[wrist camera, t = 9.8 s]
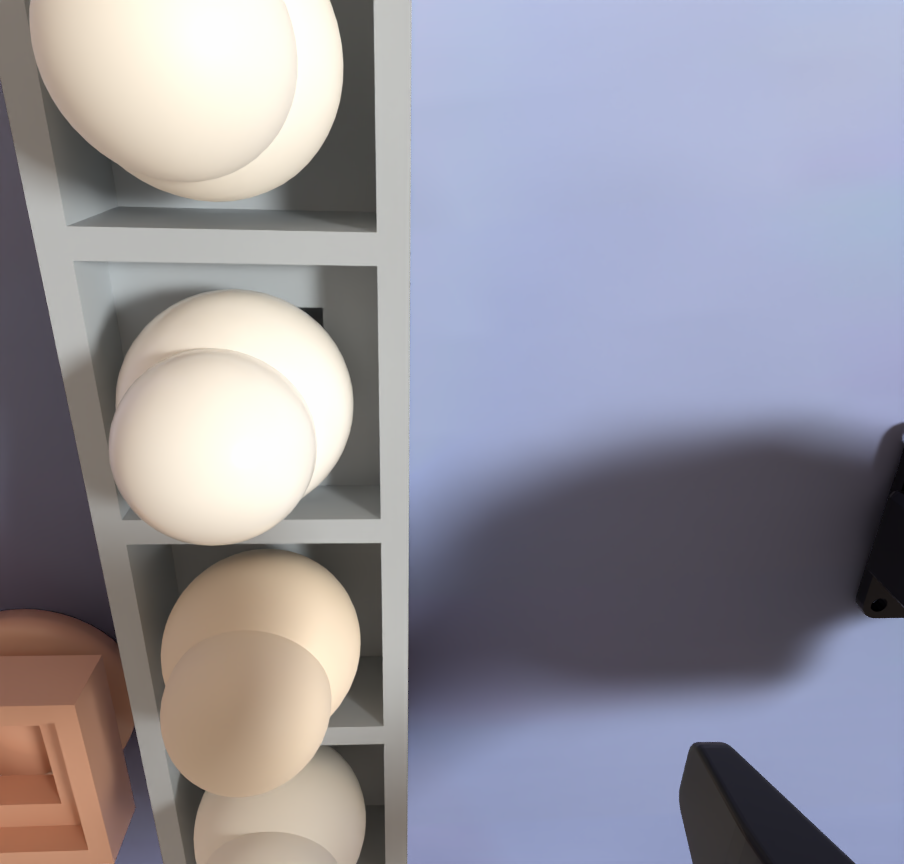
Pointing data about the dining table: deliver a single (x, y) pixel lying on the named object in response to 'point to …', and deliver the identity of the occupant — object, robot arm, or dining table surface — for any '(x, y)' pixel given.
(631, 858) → the dining table surface
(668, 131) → the dining table surface
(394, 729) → the egg carton
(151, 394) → the egg
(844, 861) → the robot arm
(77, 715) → the egg cup
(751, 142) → the dining table surface
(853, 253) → the dining table surface
